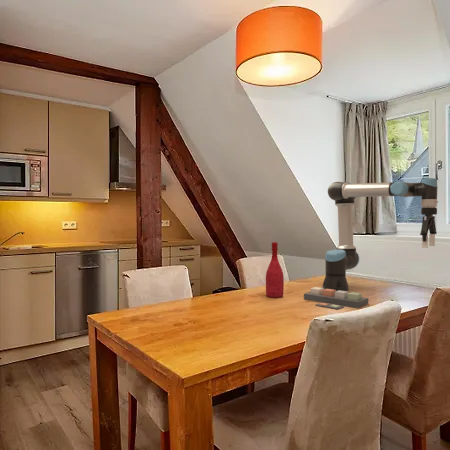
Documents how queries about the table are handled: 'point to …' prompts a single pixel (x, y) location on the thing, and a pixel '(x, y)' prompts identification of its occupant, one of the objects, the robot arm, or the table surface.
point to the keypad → (336, 300)
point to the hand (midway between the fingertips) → (428, 246)
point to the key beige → (341, 294)
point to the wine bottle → (274, 276)
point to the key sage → (354, 296)
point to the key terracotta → (328, 292)
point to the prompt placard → (329, 306)
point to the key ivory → (316, 290)
